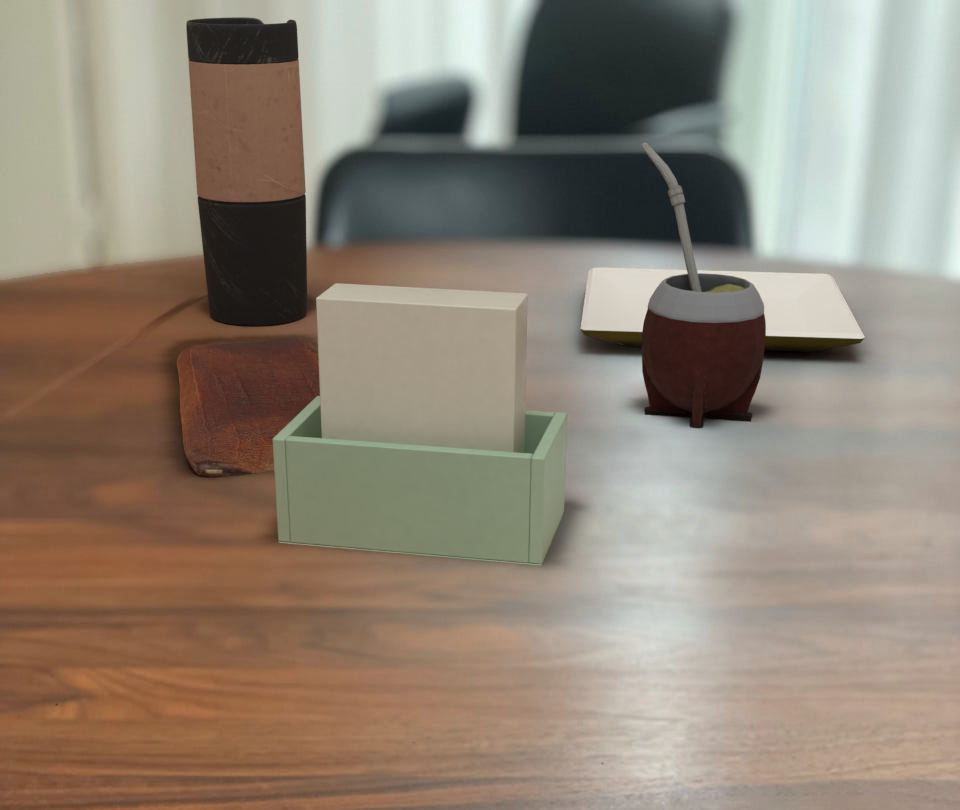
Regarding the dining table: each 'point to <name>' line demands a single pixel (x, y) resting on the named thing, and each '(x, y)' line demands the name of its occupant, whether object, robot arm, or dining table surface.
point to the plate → (786, 296)
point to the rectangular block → (423, 366)
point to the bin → (421, 493)
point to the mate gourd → (701, 336)
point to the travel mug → (249, 168)
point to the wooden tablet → (242, 401)
